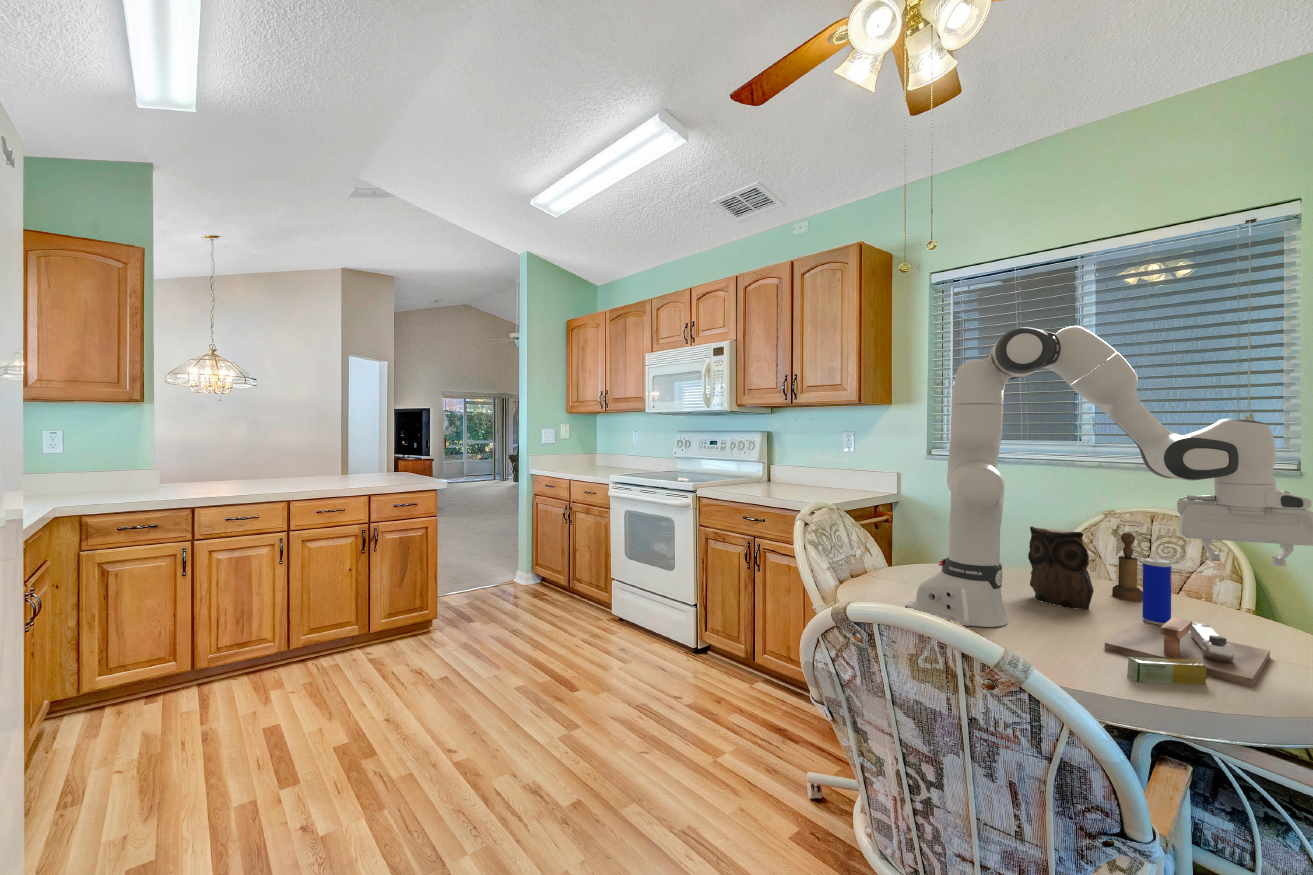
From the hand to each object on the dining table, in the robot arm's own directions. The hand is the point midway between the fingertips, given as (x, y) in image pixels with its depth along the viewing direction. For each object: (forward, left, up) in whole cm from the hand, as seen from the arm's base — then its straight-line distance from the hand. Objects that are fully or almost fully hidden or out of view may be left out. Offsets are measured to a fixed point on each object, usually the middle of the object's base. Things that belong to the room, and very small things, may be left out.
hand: (1245, 563), depth 116 cm
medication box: (-7, -30, -19) cm, 36 cm away
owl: (-35, +11, -19) cm, 41 cm away
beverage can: (-16, +10, -19) cm, 27 cm away
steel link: (-4, -8, -17) cm, 19 cm away
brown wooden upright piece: (-26, +29, -19) cm, 43 cm away
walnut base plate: (-7, -10, -19) cm, 23 cm away
